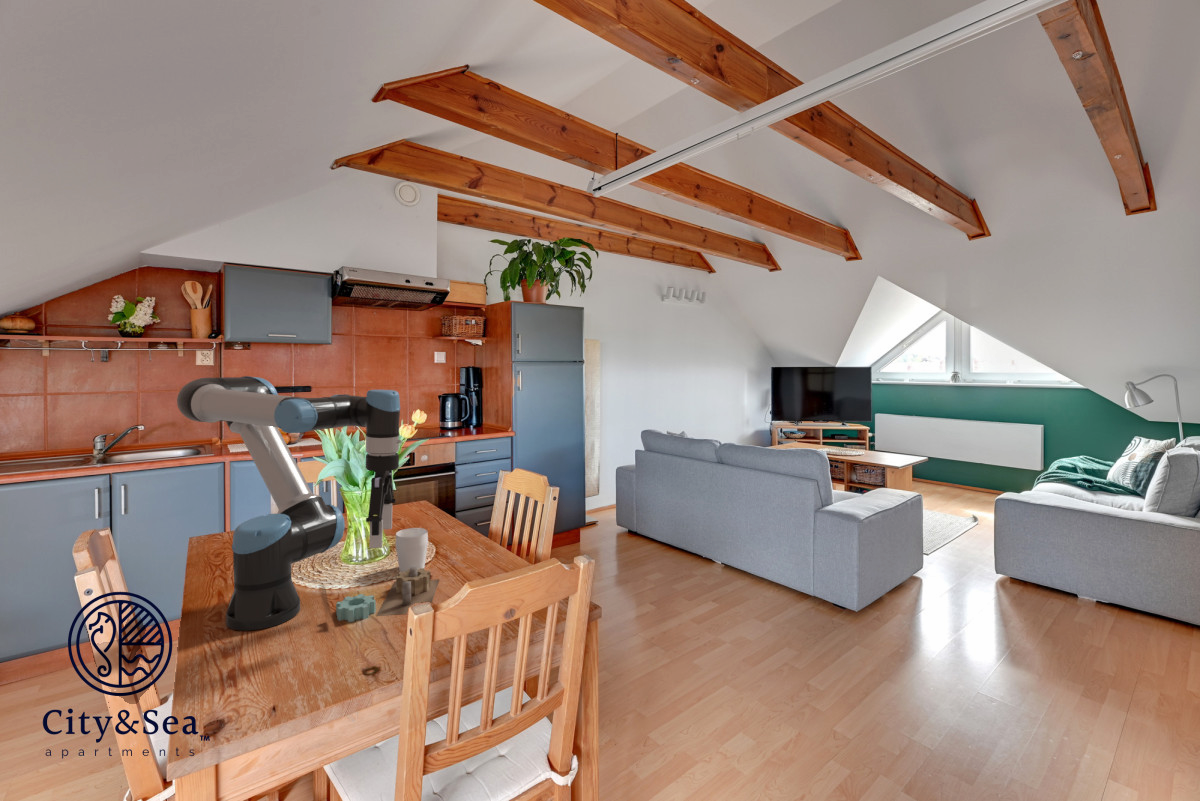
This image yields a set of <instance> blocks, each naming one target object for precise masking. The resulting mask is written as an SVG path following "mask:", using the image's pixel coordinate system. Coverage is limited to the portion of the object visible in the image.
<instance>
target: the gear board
mask: <svg viewBox="0 0 1200 801" xmlns="http://www.w3.org/2000/svg"><path fill="white" fill-rule="evenodd" d="M409 573H410V577H416V576H417V568H416V567H413V568H410V569H409ZM430 582H431V586H430V587H429V590H428V591H427V592H426V591H423V592H421V593H420V594H419V595H414V594H412V595H411V581H405V582H403V583H402V585H403V595H402V593H401V592H400V593H397V592H396V580H395V581H394V582H393V583H392V585H391V588H390V589H389V591H388V593H387V595H386V597H385V599H384V600H383V602H382V604H381V606H380V608H379V610H377V613H376V615H375V616H376V617H383V616H401V615H408V614H407V612H408V608H409V607H410V606H411V605H413V604H415V603H421V602H430V603H433V600H434V597H435V595H436V591H437V589H438V586H439V583H440V579H430Z"/></svg>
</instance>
